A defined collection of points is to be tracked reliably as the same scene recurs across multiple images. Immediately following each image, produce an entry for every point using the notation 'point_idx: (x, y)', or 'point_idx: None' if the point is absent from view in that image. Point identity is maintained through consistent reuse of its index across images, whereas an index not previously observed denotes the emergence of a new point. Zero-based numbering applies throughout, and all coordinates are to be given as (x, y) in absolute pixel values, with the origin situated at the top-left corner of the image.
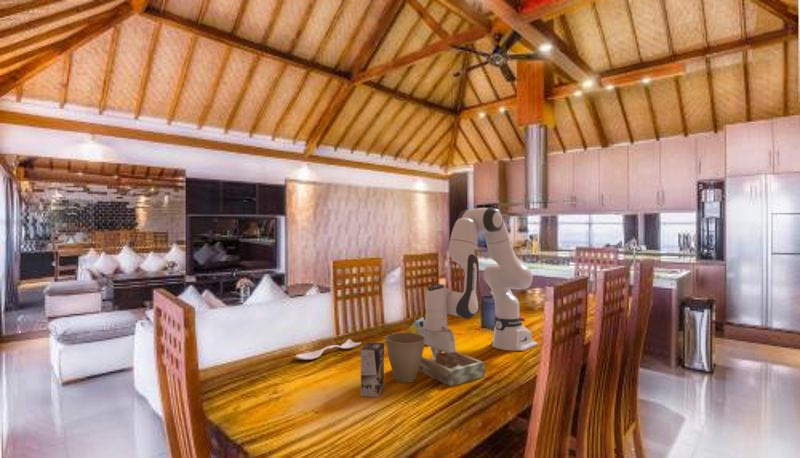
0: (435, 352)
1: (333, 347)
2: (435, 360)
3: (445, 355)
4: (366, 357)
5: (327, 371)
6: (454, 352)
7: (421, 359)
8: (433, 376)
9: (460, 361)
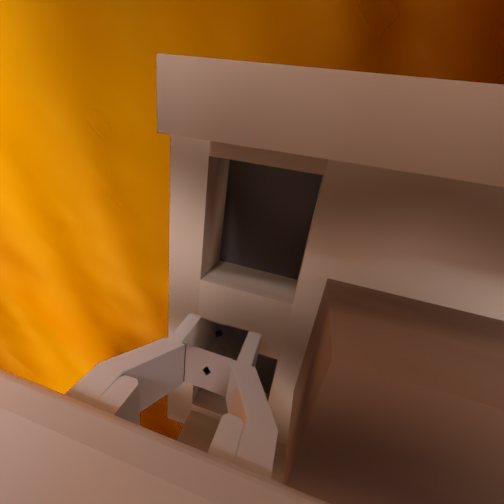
0: (174, 364)
1: None
2: (215, 310)
3: (414, 494)
4: None
5: None
6: (366, 151)
7: None
8: None
9: (500, 187)
